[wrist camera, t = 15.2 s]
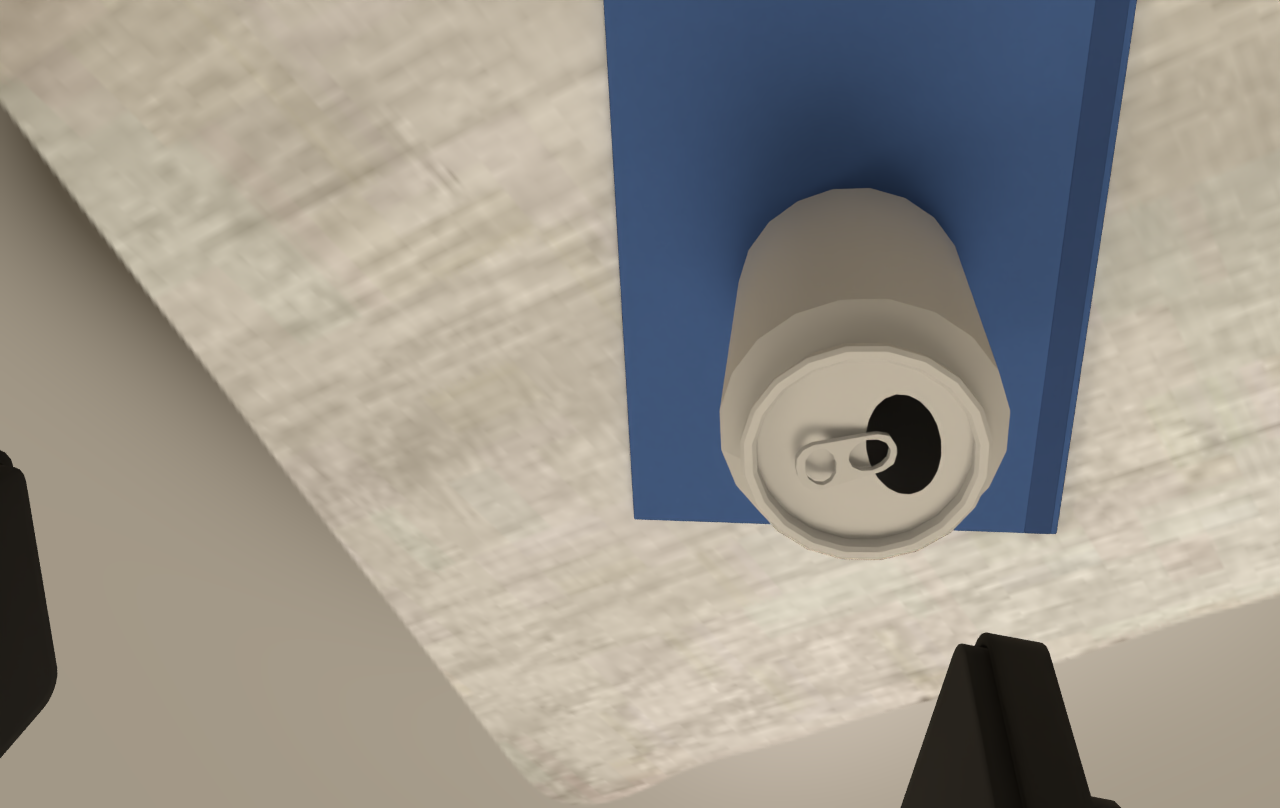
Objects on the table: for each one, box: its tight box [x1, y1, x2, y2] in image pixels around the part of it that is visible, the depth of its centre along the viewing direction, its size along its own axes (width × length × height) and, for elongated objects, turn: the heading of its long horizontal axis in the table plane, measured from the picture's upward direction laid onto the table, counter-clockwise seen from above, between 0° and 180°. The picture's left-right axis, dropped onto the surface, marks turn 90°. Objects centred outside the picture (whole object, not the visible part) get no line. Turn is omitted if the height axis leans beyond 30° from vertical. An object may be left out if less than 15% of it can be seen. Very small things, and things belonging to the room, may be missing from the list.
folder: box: [604, 0, 1137, 534], centre depth 38 cm, size 20×16×1 cm
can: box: [720, 188, 1010, 560], centre depth 33 cm, size 8×8×12 cm
